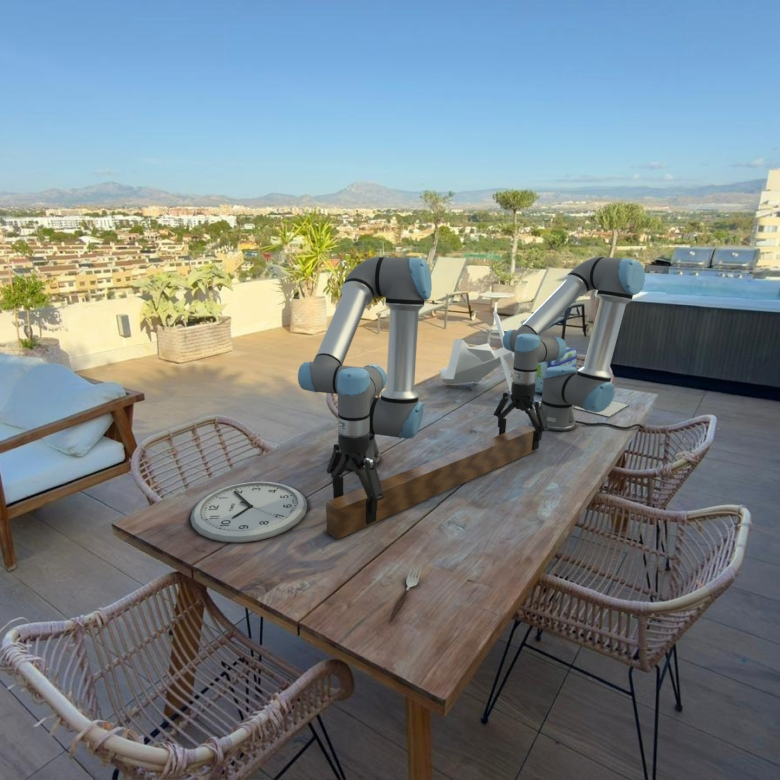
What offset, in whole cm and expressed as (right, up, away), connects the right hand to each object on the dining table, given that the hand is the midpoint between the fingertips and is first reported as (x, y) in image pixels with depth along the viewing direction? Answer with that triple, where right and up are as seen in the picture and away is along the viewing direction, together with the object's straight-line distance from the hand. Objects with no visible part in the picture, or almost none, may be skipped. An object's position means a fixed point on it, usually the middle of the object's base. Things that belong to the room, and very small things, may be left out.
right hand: (517, 443), depth 176 cm
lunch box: (+34, +17, +71) cm, 81 cm away
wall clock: (-80, -14, -36) cm, 89 cm away
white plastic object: (-1, +17, +67) cm, 69 cm away
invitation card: (+48, +11, +50) cm, 71 cm away
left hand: (-52, -13, -44) cm, 69 cm away
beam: (-26, -10, -21) cm, 35 cm away
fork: (-40, -25, -68) cm, 82 cm away
